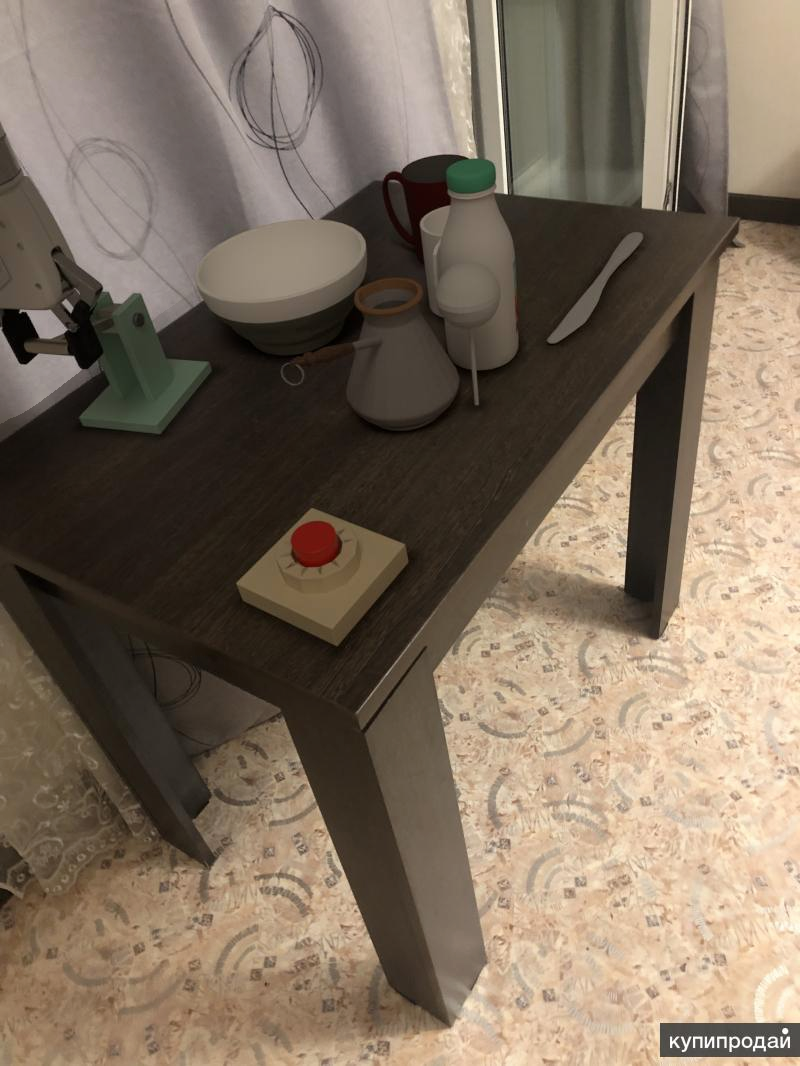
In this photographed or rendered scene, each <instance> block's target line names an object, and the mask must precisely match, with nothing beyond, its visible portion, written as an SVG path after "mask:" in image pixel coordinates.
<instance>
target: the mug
mask: <svg viewBox="0 0 800 1066" xmlns="http://www.w3.org/2000/svg"><path fill="white" fill-rule="evenodd" d="M466 159H470V158H469V157H467V156H465V155H460V154H451V153H449V154H447V153H446V154H434V155H429V156H425V157H422V158H419V159H416V160H413V161H410V162H409V163H408V164H406V165H404V167H403V168H402V170H401V172H400V171H396V170H392V171H390V172H388V173H387V174H385V176H384V178H383V180H382V185H381V191H382V192H381V193H382V197H383V203H384V206H385V210H386V212H387V215H388V218H389V219H390V222H391V224H392V226H393V228H394V229H395V231H396V232H397V233H398V235H399V236H400V237H401V238H402V239H403V240H404V241H405V242H406V243H408V244H409V245H411V246H413V247H414V248H415V252H416V257H417V260H418V261H419V262H420V263H421V264H423V265H425V263H424V255H423V246H422V238H421V230H420V222H421V220H422V218H423V217H424V216H425V215H427V214H428V213H430V212H432V211H434V210H436V209H439V208H442V207H445V206H450V205H451V196H450V195H449V194H448V186H447V180H446V172H447V169H448V167H449V166H451V165H452V164H454V163H456V162H458V161H462V160H466ZM390 181H396V182H398V183H400V185H402V189H403V194H404V195H403V196H404V200H405V205H406V209H407V215H408V219H409V224H410V229H411V232H412V233H409V232H408V231H407V230H406V229H405V227H404V226H403V225H402V223H401V222H400V220H399V218H398V217H397V215H396V213H395V210H394V207H393V204H392V202H391V201H392V200H391V196H390V192H389V182H390Z"/></svg>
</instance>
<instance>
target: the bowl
mask: <svg viewBox="0 0 800 1066" xmlns="http://www.w3.org/2000/svg"><path fill="white" fill-rule="evenodd" d="M367 265H368V253H367V243H366V239H365V238H364V236H363V235H362V233H361V232H360V231H358V230H357V229H356V228H355V227H352V226H350V225H348V224H346V223H343V222H338V221H335V220H330V219H329V220H328V219H319V218H318V219H317V218H315V219H314V218H313V219H311V218H310V219H309V218H307V219H306V218H303V219H291V220H285V221H284V220H283V221H278V222H273V223H269V224H266V225H265V224H264V225H261V226H257V227H254V228H251V229H248V230H245V231H243V232H241V233H238V234H235V235H233V236H231V237H229V238H227V239H226V240H223V241H222V242H220V243H219V244H217V245H216V246H214V247H213V248H212V249H210V250H209V251H208V252H206V254H205V255H204V256H203V257H202V258H201V259H200V260H199V262H198V264H197V266H196V267H195V270H194V274H193V278H194V279H193V280H194V283H195V285H196V288H197V291H198V293H199V295H200V296H201V298H202V299H203V301H204V304H206V306H207V308H208V309H209V310H210V311H211V312H212V313H213V314H215V315H216V316H217V317H218V318H219V319H220V320H221V321H222V322H223V323H225V324H226V325H228V326H230V327H231V328H232V330H233V331H234V332H235V333H236V334H238V335H240V336H241V337H242V338H244V339H245V340H247V341H250V343H251V344H252V345H253V346H254V347H255V348H256V349H257V350H259V351H261V352H263V353H266V354H268V355H272V356H273V355H274V356H295V355H301V354H302V355H303V354H304V353H306V352H312V351H315V350H319V349H321V348H323V347H325V346H326V345H328V344H329V343H331V342H332V341H334V340H335V338H337V337H338V336H339V335H340V333H341V331H342V330H343V328H344V324H345V322H346V318H347V317H348V316H349V314H350V313H351V311H352V309H353V307H354V306H355V303H354V297H355V292H356V290H357V289H358V288H360V287H362V286H363V285H362V284H363V281H364V279H365V276H366V273H367Z"/></svg>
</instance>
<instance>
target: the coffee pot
mask: <svg viewBox="0 0 800 1066" xmlns="http://www.w3.org/2000/svg"><path fill="white" fill-rule="evenodd" d="M423 289H424V288H423V287H422V285H421V284H420V283H419V282H418V281H415V280H414V279H411V278H407V277H388V278H381V279H378V280H374V281H371V282H369V283H367V284H365V285H361V287H360V288H358V289H357V290H356V292H355V297H354V306H355V307H356V309H357V310H358V311H359V312H361V314H362V316H363V318H364V320H363V323H362V327H361V329H360V335H359V339H358V340H355V341H353V342H346V343H339V344H335V345H328V346H322V347H320V348H319V349H317V350H316V351H313V352H312V351H310V352H306V353H303V354H302V356H296V357H294V358H293V359H292V360H290V361H289V362H286V363H284V364H282V366H281V368H280V376H281V378H282V380H283V381H284V382H285V383H286V384H288V385H290V386H299V385H301V384H302V383H303V382H304V380H305V371H304V369H303V367H304V366H305V367H307V368H312V367H314V366H315V364H318V363H329V362H332V361H335V360H337V359H340V358H342V357H345V356H347V355H350V354H352V353H355V354H354V357H353V362H352V365H351V368H350V373H349V376H348V381H347V383H346V388H345V394H346V400H347V402H348V404H349V405H350V406H351V409H353V411H354V412H355V413H356V414H357V415H358V416H359V417H360V418H362V419H363V420H364V421H365V422H368V423H370V424H372V425H375V426H377V427H378V428H381V429H384V430H387V431H396V432H401V431H405V432H406V431H411V430H416V429H419V428H422V427H424V426H427V425H429V424H430V423H433V422H434V421H435V420H436V419H437V418H438V417H439V416H440V415H441V414H442V413H444V412H445V411H446V410H447V409H448V408H449V407H450V406H451V405H452V403H453V401H454V400H455V398H456V395H457V393H458V391H459V386H460V375H459V373H458V370H457V367H456V365H455V363H454V362H453V361H452V360H451V358H450V357H449V354H448V352H446V350H445V349H444V346H443V345H442V344H441V342H440V341H439V339H438V338H437V336H436V334H435V332H434V331H433V330H432V328H431V327H430V325H429V323H428V322H427V320H426V319H425V318H424V316H423V314H422V313H421V311H420V310H419V305H420V302H421V300H422V299H423V296H424V290H423ZM287 365H289V367H290V368H295V369H299V370H300V372H301V376H302V377H301V380H300V381H299V382H298V383H292V382H290V381H288V379H287V378H286V377H285V375H284V368H285V367H286V366H287Z"/></svg>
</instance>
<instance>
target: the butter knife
mask: <svg viewBox="0 0 800 1066" xmlns="http://www.w3.org/2000/svg"><path fill="white" fill-rule="evenodd" d="M643 239H644V234H643V233H642V232H640V231H633V232H630V233H628V234H627V235H626V236H625V237H623V238H622V240H620V243H619V244H618V245H617V247H616V248H615V249H614V251H613V252H612V253H611V256H610V258H609V259H608V261H607V263H606V264H605V265H604V267H603V269H602V270H601V271H600V273H599V274H598V276H597V277H596V278H595V280H594V282H593V283H592V284H591V285H590V286H589V287H588V288H587V290H586V291H585V292H584V293H583V294H582V295H581V297H580V298H579V299H578V300H577V302H576V303H575V304H574V305H573V306H572V308H571V309H569V312H568V313H567V314H566V316H564V318H563V319H562V321H561V322H560V323H559V325H558V326H557V327H556V329H554V330H553V332H552V333H551V334H550V336H549V337H548V338H547V339H546V342H547V343H548V344H557V343H559V342H561V341H562V340H563V339H565V338H566V337H568V336H569V335H571V334H572V333H573V332H575V331H576V330H577V329H579V328H580V327H581V326H583V325H584V324H585V323H586V322H587V321H588V319H589V318H590V317H591V314H592V313H593V311H594V310H595V308H596V306H597V305H598V303H599V301H600V297H601V295H602V292H603V290H604V288H605V286H606V284H607V282H608V280H609V279H610V277H611V276H612V275H613V273H614V272H615V271H616V270H617V268H618V267H619V266H620V265H622V263H623V262H624V261H625V260H627V258H629V257H630V255H631V254H632V253H633V252H634V251H635V250H636V249H637V248H638V247H639V246H640V244H641V243H642V241H644V240H643Z"/></svg>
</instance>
